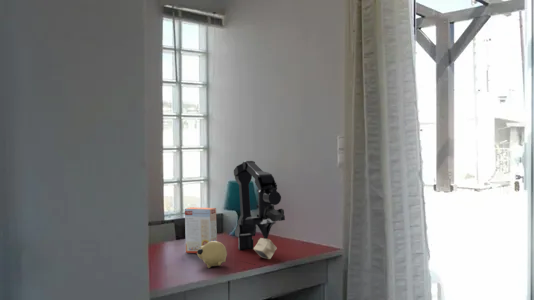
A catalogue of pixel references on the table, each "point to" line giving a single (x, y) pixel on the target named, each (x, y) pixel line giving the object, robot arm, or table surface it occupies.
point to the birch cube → (265, 248)
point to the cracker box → (199, 227)
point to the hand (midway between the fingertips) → (265, 238)
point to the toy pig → (212, 253)
